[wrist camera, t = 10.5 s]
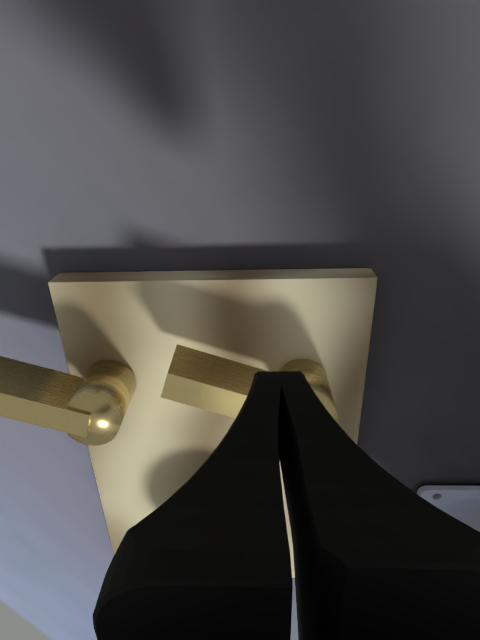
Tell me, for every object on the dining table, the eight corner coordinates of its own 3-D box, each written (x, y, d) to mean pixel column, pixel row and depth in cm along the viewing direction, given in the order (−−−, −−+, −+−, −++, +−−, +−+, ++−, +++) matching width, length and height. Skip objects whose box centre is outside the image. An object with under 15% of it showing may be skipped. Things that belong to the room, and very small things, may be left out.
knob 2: (183, 321, 19) (171, 360, 16) (335, 367, 20) (349, 411, 17) (170, 365, 20) (156, 409, 17) (315, 407, 21) (325, 455, 18)
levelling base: (370, 267, 19) (402, 313, 15) (337, 559, 28) (351, 638, 24) (59, 272, 20) (7, 317, 15) (124, 557, 28) (102, 633, 24)
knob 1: (-17, 325, 19) (-64, 364, 16) (140, 368, 20) (121, 411, 17) (-19, 368, 20) (-63, 411, 17) (131, 407, 21) (112, 454, 18)
